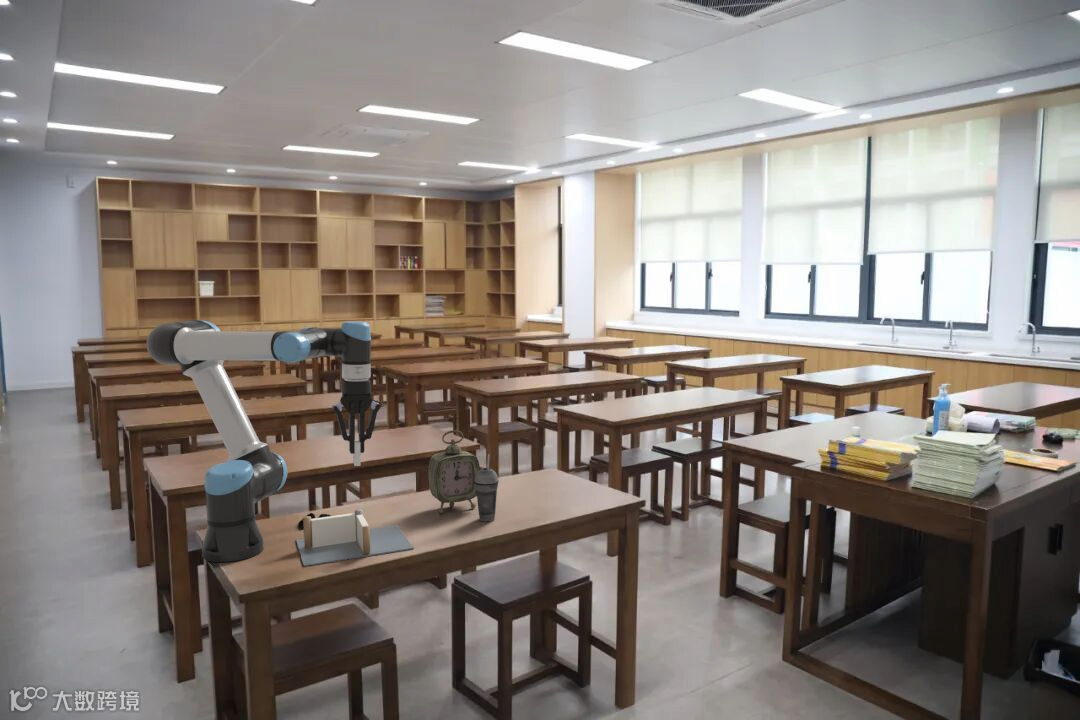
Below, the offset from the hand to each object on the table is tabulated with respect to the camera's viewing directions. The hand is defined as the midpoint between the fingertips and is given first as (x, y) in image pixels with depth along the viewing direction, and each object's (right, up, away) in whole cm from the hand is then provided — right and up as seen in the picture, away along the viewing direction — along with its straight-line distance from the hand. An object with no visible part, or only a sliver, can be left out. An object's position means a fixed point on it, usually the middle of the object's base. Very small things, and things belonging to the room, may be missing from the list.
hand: (356, 464), depth 198 cm
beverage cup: (+34, -19, +19) cm, 44 cm away
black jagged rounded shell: (-16, -21, +16) cm, 31 cm away
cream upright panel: (+3, -21, -4) cm, 22 cm away
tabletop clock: (+23, -18, +30) cm, 42 cm away
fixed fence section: (-6, -22, -1) cm, 23 cm away
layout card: (-1, -22, -1) cm, 22 cm away
